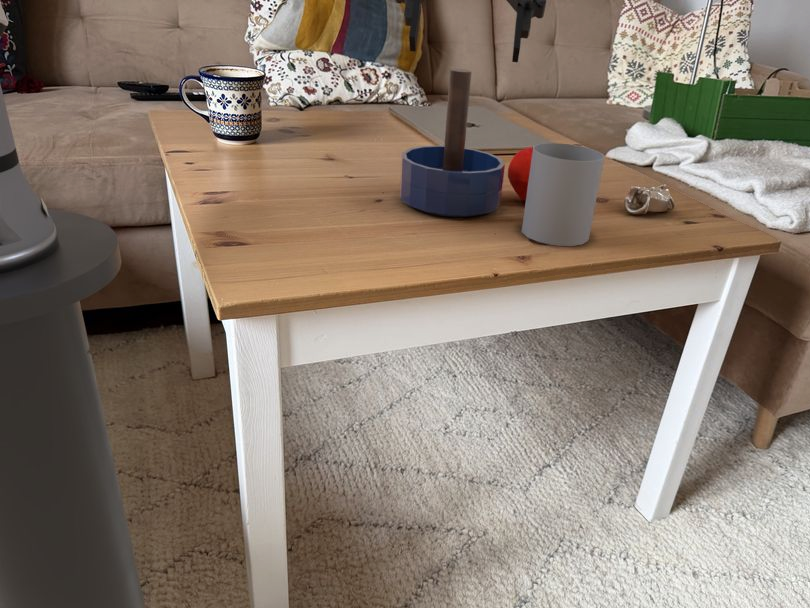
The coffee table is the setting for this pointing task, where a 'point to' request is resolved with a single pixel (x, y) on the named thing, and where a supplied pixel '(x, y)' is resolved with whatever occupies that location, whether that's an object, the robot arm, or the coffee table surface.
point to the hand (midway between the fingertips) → (464, 50)
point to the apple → (520, 172)
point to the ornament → (648, 199)
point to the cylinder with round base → (456, 119)
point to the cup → (561, 193)
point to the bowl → (451, 182)
